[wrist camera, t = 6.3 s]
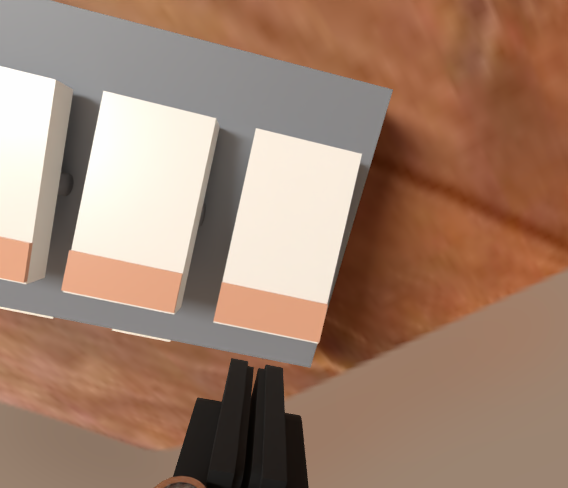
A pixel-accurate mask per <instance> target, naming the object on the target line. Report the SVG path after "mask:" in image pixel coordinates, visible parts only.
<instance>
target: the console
mask: <svg viewBox="0 0 568 488" xmlns="http://www.w3.org/2000/svg"><path fill="white" fill-rule="evenodd" d="M0 66H2V67H6V68H10V69H14V70H18V71H22V72H26V73H31V74H35V75H39V76H43V77H47V78H51V79H55V80H57V81H59V82H61V83H63V84H64V85H66V86H68V87H70V88H72V89H73V96H72V102H71V109H70V115H69V122H68V128H67V135H66V142H65V148H64V155H63V161H62V168H61V175H60V181H59V188H58V194H57V201H56V207H55V214H54V221H53V227H52V234H51V240H50V247H49V253H48V260H47V267H46V273H45V278H42V279H39V280H37V281H34V282H31V283H28V284H22V283H17V282H12V281H7V280H2V279H0V309H5V310H11V311H16V312H21V313H26V314H31V315H36V316H41V317H46V318H51V319H53V318H55V317H56V318H61V319H66V320H71V321H76V322H81V323H86V324H92V325H97V326H102V327H107V328H112V331H117V332H122V333H127V334H133V335H138V336H143V337H148V338H153V339H158V340H163V341H168V342H170V341H171V340H173V341H178V342H183V343H188V344H193V345H198V346H203V347H208V348H213V349H218V350H223V351H228V352H234V353H239V354H244V355H249V356H254V357H259V358H264V359H269V360H274V361H279V362H284V363H289V364H294V365H299V366H305V367H311V363H312V360H313V357H314V353H315V350H316V347H317V343H312V342H307V341H302V340H297V339H292V338H287V337H282V336H277V335H272V334H267V333H262V332H257V331H252V330H248V329H243V328H238V327H233V326H228V325H223V324H218V323H213V322H214V321H213V320H214V316H215V311H216V307H217V302H218V298H219V293H220V289H221V284H222V281H223V276H224V272H225V267H226V262H227V258H228V253H229V249H230V244H231V240H232V235H233V230H234V226H235V221H236V217H237V212H238V208H239V203H240V199H241V194H242V189H243V185H244V180H245V176H246V171H247V167H248V162H249V157H250V153H251V148H252V144H253V139H254V135H255V130H256V128H258V129H262V130H266V131H270V132H274V133H278V134H282V135H287V136H291V137H295V138H299V139H303V140H307V141H311V142H315V143H319V144H323V145H327V146H331V147H336V148H340V149H344V150H348V151H352V152H356V153H360V154H362V156H361V160H360V165H359V169H358V173H357V178H356V182H355V186H354V191H353V195H352V199H351V204H350V208H349V212H348V217H347V221H346V225H345V230H344V234H343V238H342V243H341V247H340V251H339V256H338V260H337V264H336V269H335V273H334V277H333V282H332V286H331V290H330V295H329V299H328V303H327V304H328V306H329V303H330V300H331V296H332V293H333V289H334V286H335V283H336V279H337V276H338V273H339V269H340V266H341V263H342V259H343V256H344V252H345V249H346V246H347V242H348V239H349V236H350V232H351V229H352V225H353V222H354V219H355V215H356V212H357V209H358V205H359V202H360V199H361V195H362V192H363V188H364V185H365V182H366V178H367V175H368V172H369V168H370V165H371V162H372V158H373V155H374V151H375V148H376V145H377V141H378V138H379V135H380V131H381V128H382V125H383V121H384V118H385V114H386V111H387V108H388V104H389V101H390V98H391V94H392V91H393V90H392V89H388V88H385V87H381V86H377V85H373V84H369V83H365V82H361V81H358V80H354V79H350V78H346V77H342V76H338V75H335V74H331V73H327V72H323V71H319V70H315V69H312V68H308V67H304V66H300V65H296V64H292V63H289V62H285V61H281V60H277V59H273V58H269V57H265V56H262V55H258V54H254V53H250V52H246V51H242V50H239V49H235V48H231V47H227V46H223V45H219V44H216V43H212V42H208V41H204V40H200V39H196V38H192V37H189V36H185V35H181V34H177V33H173V32H169V31H166V30H162V29H158V28H154V27H150V26H146V25H143V24H139V23H135V22H131V21H127V20H123V19H119V18H116V17H112V16H108V15H104V14H100V13H96V12H93V11H89V10H85V9H81V8H77V7H73V6H70V5H66V4H62V3H58V2H54V1H50V0H0ZM103 91H107V92H111V93H115V94H119V95H123V96H127V97H131V98H135V99H140V100H144V101H148V102H152V103H156V104H160V105H164V106H168V107H172V108H176V109H180V110H184V111H189V112H193V113H197V114H201V115H205V116H209V117H213V118H216V119H217V121H218V124H219V126H220V128H219V133H218V138H217V142H216V147H215V152H214V156H213V161H212V165H211V170H210V175H209V179H208V184H207V189H206V193H205V198H204V203H203V207H202V212H201V217H200V221H199V226H198V231H197V235H196V240H195V245H194V249H193V254H192V258H191V263H190V268H189V272H188V277H187V282H186V286H185V291H184V296H183V300H182V305H181V308H180V309H179V310H178V311H177V312H176V313H175V314H174V315H173V314H169V313H164V312H159V311H154V310H149V309H144V308H139V307H134V306H129V305H124V304H119V303H114V302H109V301H104V300H99V299H94V298H90V297H85V296H80V295H75V294H70V293H65V292H63V291H62V290H61V288H62V283H63V278H64V273H65V268H66V263H67V258H68V253H69V250H71V249H72V244H73V239H74V234H75V229H76V224H77V219H78V214H79V209H80V204H81V199H82V194H83V189H84V184H85V179H86V174H87V169H88V164H89V159H90V154H91V149H92V145H93V140H94V135H95V130H96V125H97V120H98V115H99V110H100V105H101V100H102V95H103ZM327 310H328V307H327ZM326 313H327V311H326Z"/></svg>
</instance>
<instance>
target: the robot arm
mask: <svg viewBox="0 0 568 488" xmlns="http://www.w3.org/2000/svg"><path fill="white" fill-rule="evenodd" d="M253 370H254V367H250V366H248V361H243V360H238V359H233V358H231V363H230V367H229V372H228V376H227V381H226V385H225V390H224V394H223V399H222V402H220V401H214V400H209V399H203V398H197V400H196V403H195V407H194V410H193V413H192V416H191V420H190V423H189V426H188V429H187V433H186V436H185V439H184V443H183V446H182V449H181V452H180V456H179V459H178V462H177V466H176V469H175V472H174V475H173V477H171V478H169V479H166V480H164V481H162V482H161V483H159V484H158V485H157V486H156V487H154V488H308V478H307V469H306V458H305V448H304V438H303V428H302V420H301V416H299V415H294V414H288V413H285V410H284V384H283V368H281V367H276V366H270V365H266V366H265V369H260V368H259V369H258V372H257V376H256V380H255V384H254V388H253V392H252V396H251V391H252V381H253Z"/></svg>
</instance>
